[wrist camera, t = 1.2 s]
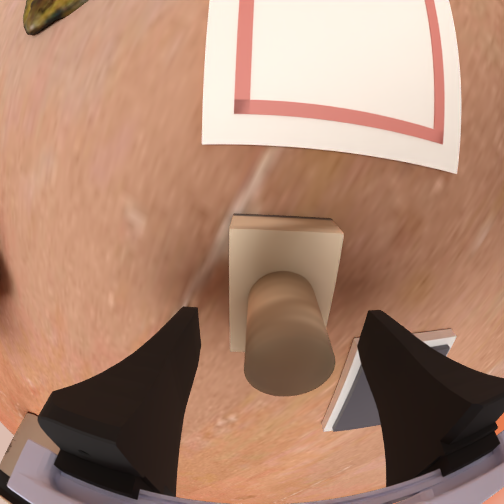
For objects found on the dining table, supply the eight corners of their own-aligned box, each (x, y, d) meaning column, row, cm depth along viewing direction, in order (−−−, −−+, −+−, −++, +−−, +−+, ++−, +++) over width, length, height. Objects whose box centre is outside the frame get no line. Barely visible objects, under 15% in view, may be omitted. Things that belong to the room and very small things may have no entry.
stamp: (330, 217, 14) (384, 284, 8) (313, 325, 17) (334, 417, 10) (233, 212, 14) (214, 280, 8) (233, 324, 17) (222, 418, 10)
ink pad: (451, 328, 17) (459, 339, 16) (403, 410, 21) (407, 421, 20) (354, 337, 17) (360, 353, 16) (321, 423, 21) (323, 435, 20)
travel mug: (72, 440, 28) (41, 524, 11) (57, 441, 30) (28, 513, 13) (33, 409, 25) (-8, 493, 9) (22, 413, 27) (-13, 485, 11)
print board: (439, -18, 7) (443, -21, 6) (452, 172, 12) (457, 174, 12) (219, -63, 7) (218, -69, 6) (203, 144, 12) (201, 144, 12)
